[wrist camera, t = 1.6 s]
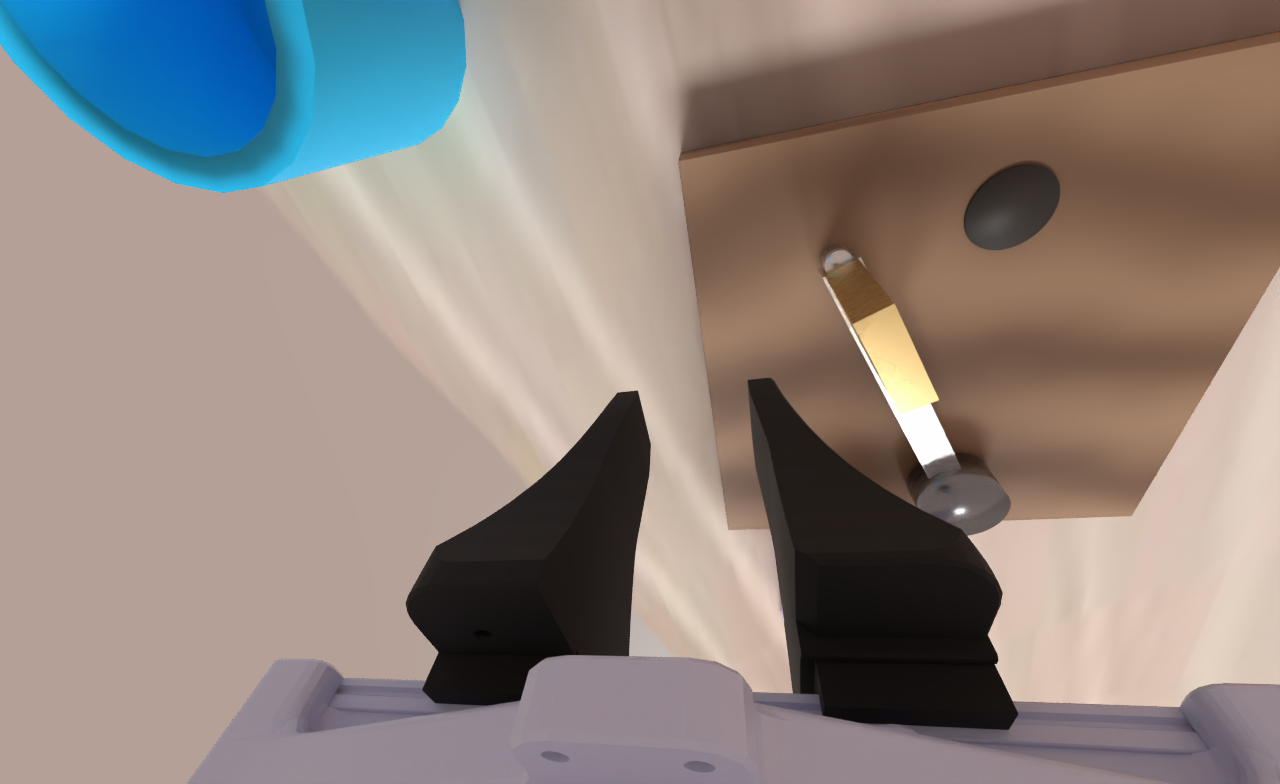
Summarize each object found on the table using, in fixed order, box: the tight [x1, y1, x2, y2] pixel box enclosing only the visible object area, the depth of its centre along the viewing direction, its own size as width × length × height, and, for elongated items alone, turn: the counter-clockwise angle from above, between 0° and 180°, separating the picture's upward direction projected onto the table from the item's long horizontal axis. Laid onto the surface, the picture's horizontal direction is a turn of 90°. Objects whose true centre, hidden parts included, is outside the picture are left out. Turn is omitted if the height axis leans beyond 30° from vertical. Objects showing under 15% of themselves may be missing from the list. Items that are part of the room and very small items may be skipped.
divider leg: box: [818, 245, 1011, 536], centre depth 18 cm, size 16×4×5 cm, turn 36°
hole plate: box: [679, 31, 1280, 530], centre depth 20 cm, size 20×20×2 cm
